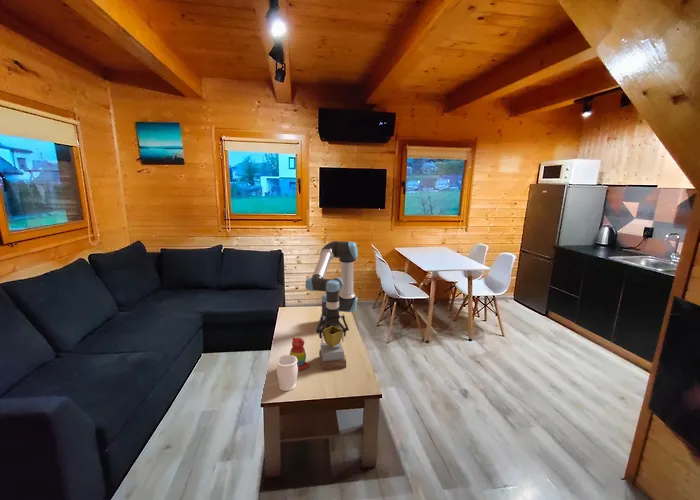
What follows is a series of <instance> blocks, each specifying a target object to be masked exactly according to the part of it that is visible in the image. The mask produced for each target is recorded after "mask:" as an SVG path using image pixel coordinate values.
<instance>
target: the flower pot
mask: <svg viewBox="0 0 700 500" xmlns="http://www.w3.org/2000/svg"><path fill="white" fill-rule="evenodd" d="M342 332H343V330H342V328H339V327H337V326H331V327H326V328H325V329H324V330H323V341H324V343H326V344H328V345H330V346H332V347H334V346H335V345H337V344H339V343H341V342H342Z"/></svg>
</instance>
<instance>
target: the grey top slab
mask: <svg viewBox="0 0 700 500" xmlns="http://www.w3.org/2000/svg"><path fill="white" fill-rule="evenodd" d="M319 346H320V348H319V350H320V351H321V355H322V359H323V361H333V360H342V359H344V355H345V350H344V348H343V345H342V343H341V342H340V343H339V344H337V345H335V346H334V347H332V346H330V345H328V344H326V342H323V344H322V343H321V342H320V345H319Z"/></svg>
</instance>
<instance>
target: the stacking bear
mask: <svg viewBox="0 0 700 500" xmlns="http://www.w3.org/2000/svg"><path fill="white" fill-rule="evenodd" d="M304 345H305V340H304V339H302V337H293V338H292V341H291V346H292V347H291V349H290V352H289V355H292V356H295V357H296V358H297V360H298V361H297V366H298V372H300V371H304V370H306V369H309V368H310V366H311V365H310V363H309V362H307V360H306V359H307V352H306V349H305V347H304Z"/></svg>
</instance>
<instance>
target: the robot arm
mask: <svg viewBox="0 0 700 500" xmlns="http://www.w3.org/2000/svg"><path fill="white" fill-rule="evenodd" d="M358 250H359V249H358V246H357V243H356V242H354V241H339V240H334V241H333V240H332V241H329V242H328V243H326V244H325V245H324V246H323V247H322V248H321V250H320V252H319V259H318V261H317V263H316V266H315V268H314V271H313V273H312V276H311V277H307V278H306V280H305V286H304V287H305V289H306V290H307V291H311V292H312V291H313V292H314V291H315V292H325V293H324V294H322V296H321V314H320V318H319V322H318V325H317V327H316V330H315V331H316V333H317V334H319V335H318V336H319V337H318V338H319V339H321V340H320V343H322V344H323V343H324V338H323V330H324V329H326V328H329V327H331V326H335V327H337V326H339V327H340V329H342V330H343V332H342V339H341V342H342V343H344V342H345V337H346V334H347V332H348V331H349V327H348V324H347V321H346V317H345V314H343V313H355V312H356V309H357V305H358V296H356V293H355V292H354V263H355V262H356V260H357V259H358V256H359V254H358V253H359V251H358ZM335 258H337V259H338V260H339V262H340V263H341V267H340V268H341V269H340V270H341V271H340V272H341V277H334V278H333V279H332V278H325V277H326V274H327V273H328V272H327V271H328V269H329V266H330V263H331V261H332V260H333V259H335ZM340 312H343V313H342V314H340ZM340 319H341V320H342V321H343V322H341V321H340ZM342 323H343V324H342Z"/></svg>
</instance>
